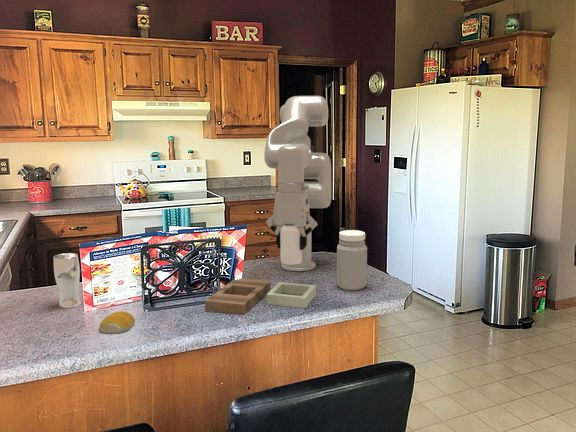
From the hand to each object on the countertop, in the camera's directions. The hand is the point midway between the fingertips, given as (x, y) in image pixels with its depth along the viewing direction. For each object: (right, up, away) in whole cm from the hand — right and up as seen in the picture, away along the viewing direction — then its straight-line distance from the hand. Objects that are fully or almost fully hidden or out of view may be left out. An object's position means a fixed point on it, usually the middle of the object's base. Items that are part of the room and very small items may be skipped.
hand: (291, 247), depth 153 cm
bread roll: (-46, -20, -17) cm, 53 cm away
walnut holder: (-16, -16, +3) cm, 23 cm away
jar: (+20, -14, +14) cm, 28 cm away
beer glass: (-66, -17, 0) cm, 68 cm away
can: (0, -5, +1) cm, 5 cm away
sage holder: (0, -16, +3) cm, 16 cm away
